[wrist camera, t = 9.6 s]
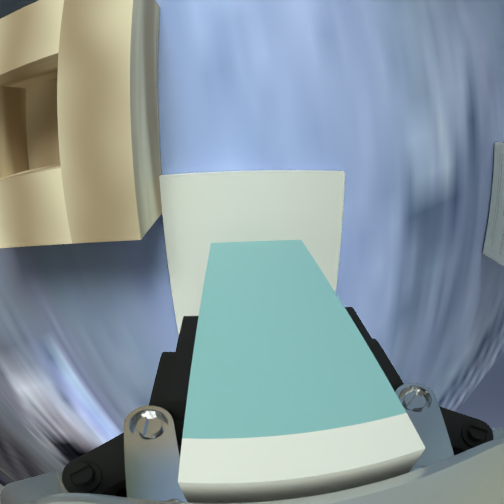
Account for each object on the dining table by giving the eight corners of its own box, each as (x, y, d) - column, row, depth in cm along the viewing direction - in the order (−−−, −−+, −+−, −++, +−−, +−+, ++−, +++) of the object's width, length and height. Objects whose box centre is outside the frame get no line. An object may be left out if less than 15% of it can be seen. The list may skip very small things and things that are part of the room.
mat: (341, 170, 17) (344, 172, 16) (328, 321, 21) (331, 326, 20) (161, 175, 16) (159, 176, 16) (179, 328, 20) (178, 334, 20)
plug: (301, 239, 15) (425, 448, 4) (297, 316, 17) (366, 524, 6) (210, 242, 15) (177, 481, 4) (216, 320, 17) (209, 543, 6)
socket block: (159, 7, 13) (136, -30, 8) (164, 210, 17) (141, 239, 13) (-3, 57, 12) (-50, 50, 7) (6, 224, 17) (-39, 250, 12)
